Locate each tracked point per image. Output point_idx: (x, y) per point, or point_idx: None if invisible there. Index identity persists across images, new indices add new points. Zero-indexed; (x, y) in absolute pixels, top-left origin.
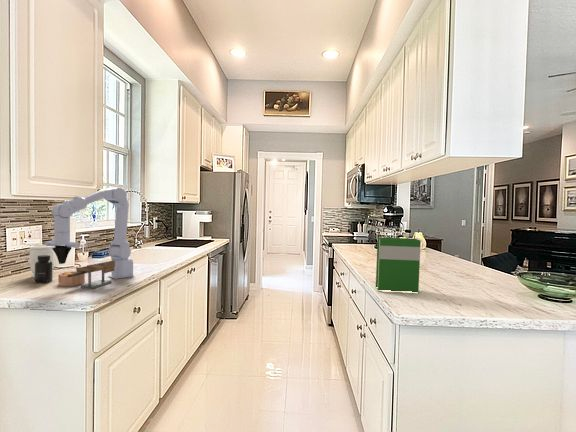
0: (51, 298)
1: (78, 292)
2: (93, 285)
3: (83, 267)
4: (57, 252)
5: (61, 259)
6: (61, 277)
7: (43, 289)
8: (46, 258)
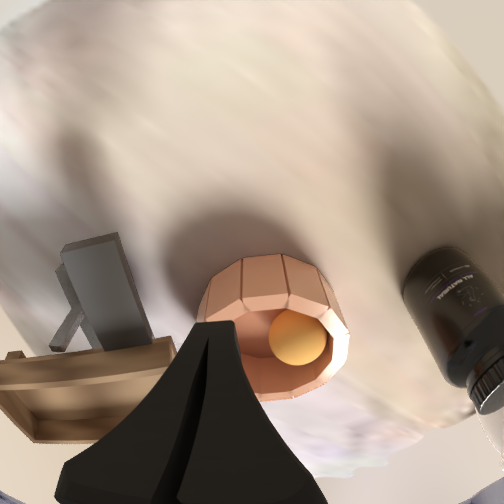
0: (60, 30)
1: (49, 182)
2: (73, 289)
3: (105, 371)
4: (204, 438)
5: (175, 358)
6: (279, 284)
7: (296, 140)
8: (483, 380)
